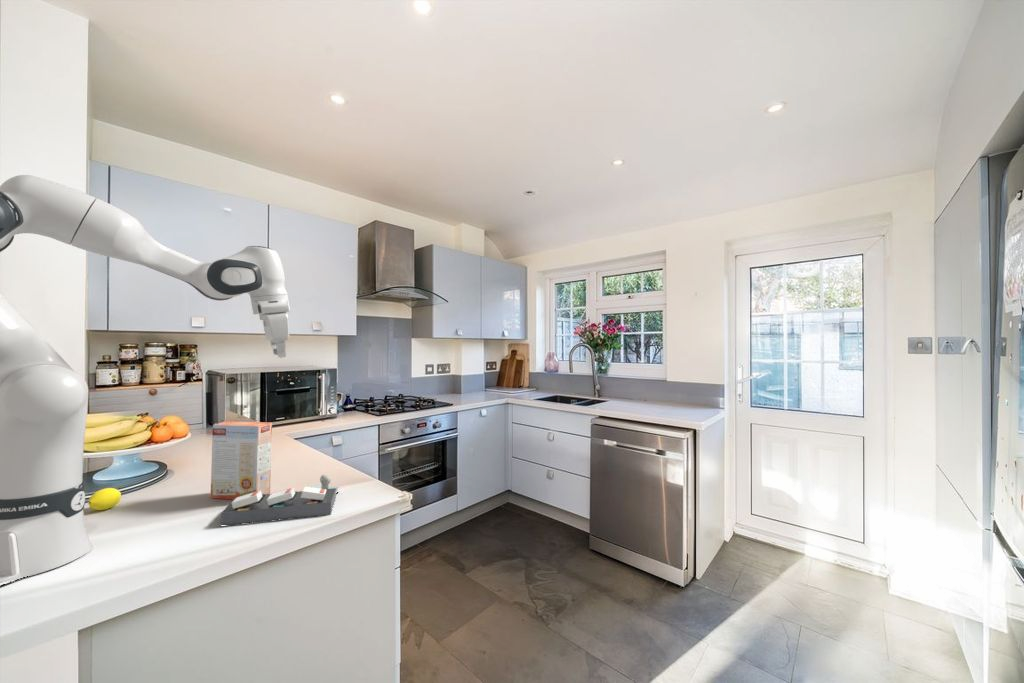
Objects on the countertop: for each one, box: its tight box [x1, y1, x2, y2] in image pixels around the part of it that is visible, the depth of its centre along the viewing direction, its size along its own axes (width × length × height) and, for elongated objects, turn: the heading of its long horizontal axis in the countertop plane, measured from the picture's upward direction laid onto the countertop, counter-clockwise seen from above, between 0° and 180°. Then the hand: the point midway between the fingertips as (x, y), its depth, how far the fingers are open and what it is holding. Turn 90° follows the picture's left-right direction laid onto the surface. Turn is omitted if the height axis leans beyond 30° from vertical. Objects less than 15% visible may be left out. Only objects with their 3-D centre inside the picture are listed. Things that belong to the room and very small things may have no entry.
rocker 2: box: [267, 487, 295, 506], centre depth 98 cm, size 5×3×2 cm, turn 108°
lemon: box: [87, 487, 122, 511], centre depth 99 cm, size 7×5×5 cm
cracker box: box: [210, 420, 273, 500], centre depth 110 cm, size 14×6×21 cm, turn 84°
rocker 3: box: [301, 486, 327, 500], centre depth 100 cm, size 5×3×2 cm, turn 108°
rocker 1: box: [231, 490, 262, 509], centre depth 95 cm, size 5×3×2 cm, turn 108°
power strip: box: [220, 488, 337, 526], centre depth 100 cm, size 24×10×4 cm, turn 108°
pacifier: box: [311, 473, 340, 494], centre depth 112 cm, size 7×6×6 cm
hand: (279, 355), depth 107 cm, fingers open, 8 cm apart
